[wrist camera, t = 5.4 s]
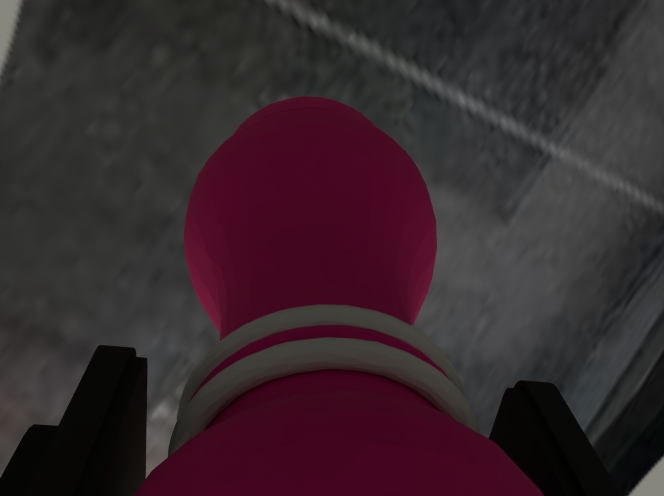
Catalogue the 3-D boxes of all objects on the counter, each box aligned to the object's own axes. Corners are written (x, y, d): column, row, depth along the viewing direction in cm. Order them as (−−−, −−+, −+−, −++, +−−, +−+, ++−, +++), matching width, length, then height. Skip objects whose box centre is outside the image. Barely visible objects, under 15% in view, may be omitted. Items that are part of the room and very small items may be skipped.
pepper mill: (421, 250, 23) (870, 1296, 5) (237, 290, 23) (55, 1411, 5) (390, 58, 20) (1294, 1055, 2) (177, 106, 20) (-740, 1363, 2)
